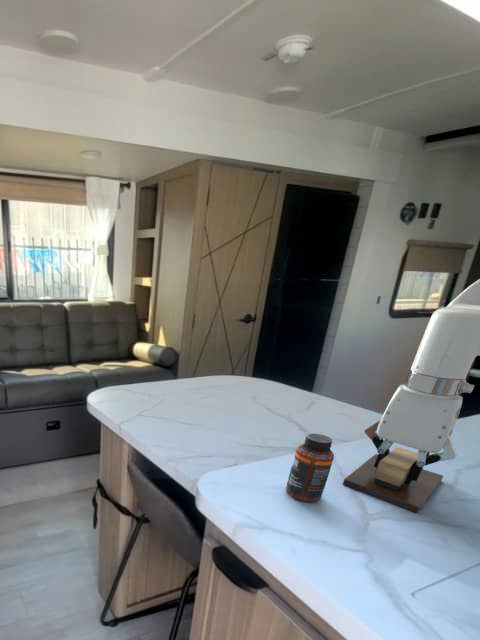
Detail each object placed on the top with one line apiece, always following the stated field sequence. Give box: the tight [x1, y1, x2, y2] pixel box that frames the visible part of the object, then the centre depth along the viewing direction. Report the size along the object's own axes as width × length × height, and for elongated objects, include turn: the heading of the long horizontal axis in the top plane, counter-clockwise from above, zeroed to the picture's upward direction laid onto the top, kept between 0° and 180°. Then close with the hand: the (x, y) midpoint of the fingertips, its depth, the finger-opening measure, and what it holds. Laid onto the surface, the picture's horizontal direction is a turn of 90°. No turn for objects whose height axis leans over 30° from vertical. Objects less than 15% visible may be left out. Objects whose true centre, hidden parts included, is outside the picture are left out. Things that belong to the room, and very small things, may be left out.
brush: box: [374, 446, 418, 491], centre depth 76 cm, size 10×4×5 cm, turn 131°
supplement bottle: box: [285, 432, 335, 503], centre depth 71 cm, size 6×6×11 cm
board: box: [342, 453, 444, 514], centre depth 79 cm, size 18×12×1 cm, turn 131°
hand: (393, 476), depth 77 cm, fingers closed on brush, 4 cm apart
